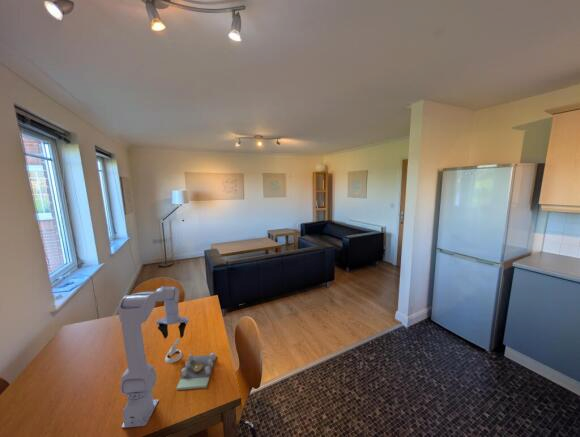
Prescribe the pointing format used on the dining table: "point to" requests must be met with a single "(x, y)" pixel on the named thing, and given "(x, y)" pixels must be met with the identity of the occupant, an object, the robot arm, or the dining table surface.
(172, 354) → the vr controller
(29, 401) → the dining table surface
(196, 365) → the brass metal puck
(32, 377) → the dining table surface
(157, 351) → the dining table surface
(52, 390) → the dining table surface
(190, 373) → the board
